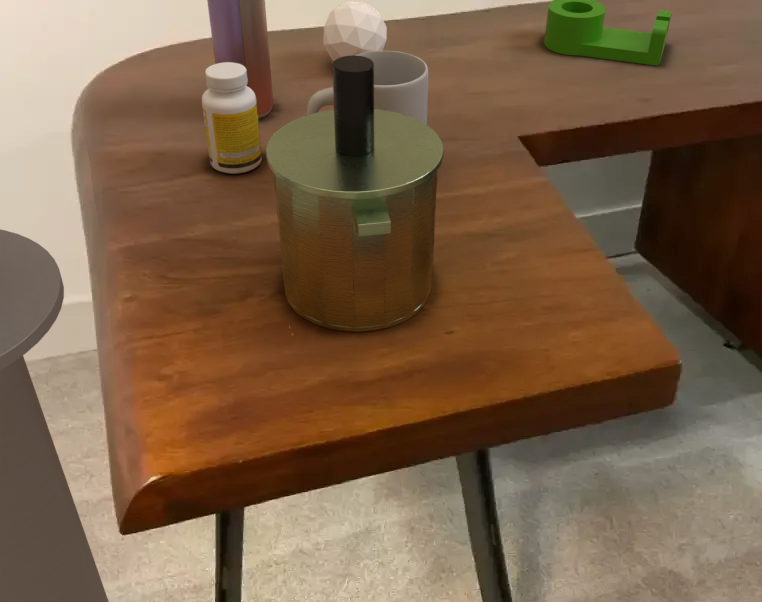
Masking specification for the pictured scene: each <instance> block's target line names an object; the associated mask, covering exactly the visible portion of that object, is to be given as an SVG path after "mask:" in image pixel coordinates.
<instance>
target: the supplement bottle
mask: <svg viewBox="0 0 762 602" xmlns="http://www.w3.org/2000/svg"><path fill="white" fill-rule="evenodd" d="M204 73H205V82H206V87H207V88H208V89H206V90H205V91H204V92H203V94H202V96H201V107H202V115H203V121H204V129H205V137H206V145H207V151H208V158H209V163H210V166H211V167H212V168H213V169H215V170H216V171H218V172H220V173H224V174H230V175H231V174H233V175H235V174H237V175H238V174H245V173H248V172H250V171H252V170H254V169H256V168H257V167H259V166H260V165H261V162H262V159H263V157H262V155H263V153H262V144H261V133H260V124H259V119H258V111H257V101H256V96H255V93H254V92H253V90H252V89H250V88H249V87H247V81H248V79H247V71H246V68H245V67H244V66H243V65H241V64H238V63H232V62H224V63H217V64H215V63H214V64H211V65H210V66H208V67H207V68H206V69H205V72H204Z"/></svg>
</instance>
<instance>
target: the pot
mask: <svg viewBox="0 0 762 602" xmlns="http://www.w3.org/2000/svg"><path fill="white" fill-rule="evenodd" d="M273 179H274V191H275V201H276V203H275V204H276V213H277V226H278V236H279V246H280V247H279V248H280V259H281V269H282V270H281V271H282V279H283V287H284V294H285V295H284V296H285V298H286V301H287V303H288V305H289V306H290V307H291V309H292V310H293V311H294V312H295V313H296V314H297V315H299V316H300V317H301V318H303V319H304V320H305V321H308V322H309V323H312V324H313V325H316V326H318V327H322V328H324V329H325V328H327V329H329V330H333V331H334V330H335V331H339V332H347V333H348V332H350V333H351V332H352V333H353V332H354V333H360V332H361V333H364V332H373V331H378V330H379V331H380V330H385V329H388V328H391V327H394V326H397V325H400V324H402V323H404V322H406V321H408V320H409V319H411V318H413V316H416V314H418V313H419V312H420V311H422V309H423V308H424V306H425V305H426V304H427V302H428V300H429V297H430V294H431V288H432V285H433V270H434V252H435V251H434V249H435V228H436V206H437V186H438V185H437V183H438V171H437V172H436V173H435V174H434V175H433V176H432V177H431V178H429V179H428V180H427V181H425V182H424V183H422V184H420V185H418V186H416V187H414V188H412V189H409V190H406V191H404V192H400V193H397V194H393V195H389V196H384V197H377V198H368V199H339V198H329V197H323V196H318V195H314V194H309V193H306V192H303V191H300V190H298V189H296V188H293V187H291V186H289V185H287V184H286V183H284V182H283V181H281V180H280V179H279V178H277V177H276V176H275V175H274V174H273Z"/></svg>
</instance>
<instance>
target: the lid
mask: <svg viewBox="0 0 762 602" xmlns="http://www.w3.org/2000/svg"><path fill="white" fill-rule="evenodd" d="M331 66H332V87H333V97H334V105H333V109H328V110H321V111H318V112H317V113H313V114H309V115H306V114H305V115H303V116H300V117H297V118H296V119H293V120H291V121H289V122H288V123H286V124H284V125H283V126H281V127H280V128H278V129H277V131H275V132H274V133H273V134H272V135H271V137H270V138H269V140H268V142H267V144H266V151H265V155H266V162H267V166H268V168H269V170H270V171H271V173H272V174H273V176H274V175H275V176H276V177H277V178H279V179H280V180H281V181H283V182H284V183H286V184H287V185H289V186H291V187H293V188H296V189H298V190H300V191H303V192H306V193H309V194H314V195H318V196H323V197H329V198H339V199H368V198H377V197H384V196H389V195H393V194H397V193H400V192H404V191H406V190H409V189H412V188H414V187H416V186H418V185H420V184H422V183H424V182H425V181H427V180H428V179H429V178H431V177H432V176H433V175H434V174H435V173H436V172H437V173H438V170H439V169H440V168H441V166H442V163H443V159H444V144H443V142H442V139H441V137H440V136H439V134H438V133H437V132H436V131H435V130H434V129H433V128H431V126H429V125H428V124H427V125H426V124H424V123H422V122H421V121H419V120H416V119H414V118H412V117H409V116H406V115H403V114H400V113H396V112H391V111H386V110H379V109H374V63H373V61H372V60H371V59H369V58H367V57H363V56H356V55H351V56H344V57H340V58H338V59H336V60H335V61H332V65H331Z"/></svg>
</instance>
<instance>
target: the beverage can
mask: <svg viewBox="0 0 762 602" xmlns="http://www.w3.org/2000/svg"><path fill="white" fill-rule="evenodd" d="M206 1H207V9H208V10H207V11H208V18H209V26H210V34H211V42H212V49H213V57H214V58H213V59H214V64H217V63H224V62H232V63H238V64H241V65H243V66H244V67H245V68H246V71H247V79H248V81H247V87H249V88H250V89H252V90H253V92H254V93H255V96H256V101H257V111H258V120H259V119H261V118H264V117H266V116H267V115H269V114H270V113H271V111H272V109H273V106H274V95H273V82H272V71H271V70H272V69H271V58H270V46H269V35H268V34H269V33H268V22H267V10H266V9H267V8H266V0H206Z"/></svg>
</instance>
